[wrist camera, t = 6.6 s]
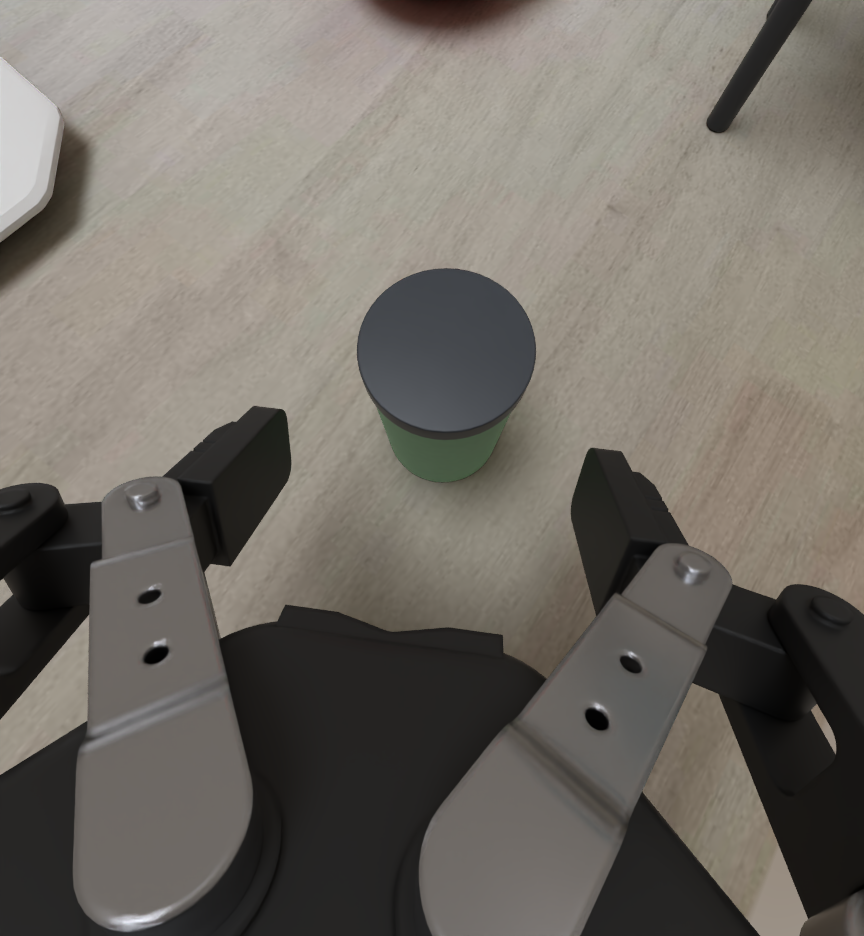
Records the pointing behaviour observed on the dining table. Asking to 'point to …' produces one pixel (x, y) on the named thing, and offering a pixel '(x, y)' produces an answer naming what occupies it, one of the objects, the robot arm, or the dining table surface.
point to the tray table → (757, 60)
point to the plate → (25, 149)
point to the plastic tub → (445, 368)
